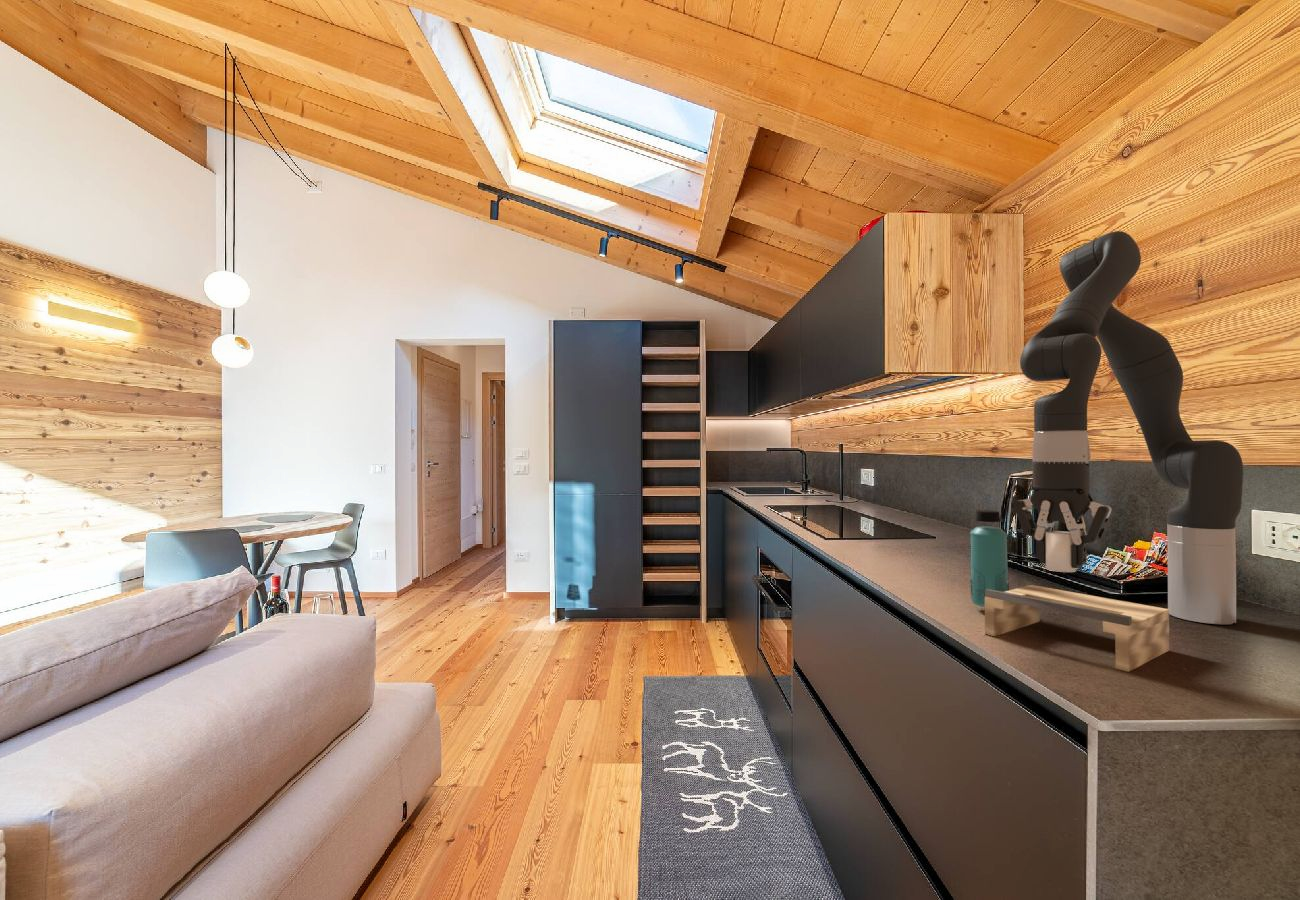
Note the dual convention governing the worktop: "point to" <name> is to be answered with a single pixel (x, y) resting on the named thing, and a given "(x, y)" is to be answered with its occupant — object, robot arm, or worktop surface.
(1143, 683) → the worktop surface
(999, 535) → the beverage bottle
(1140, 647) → the shelf
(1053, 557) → the white cylinder
